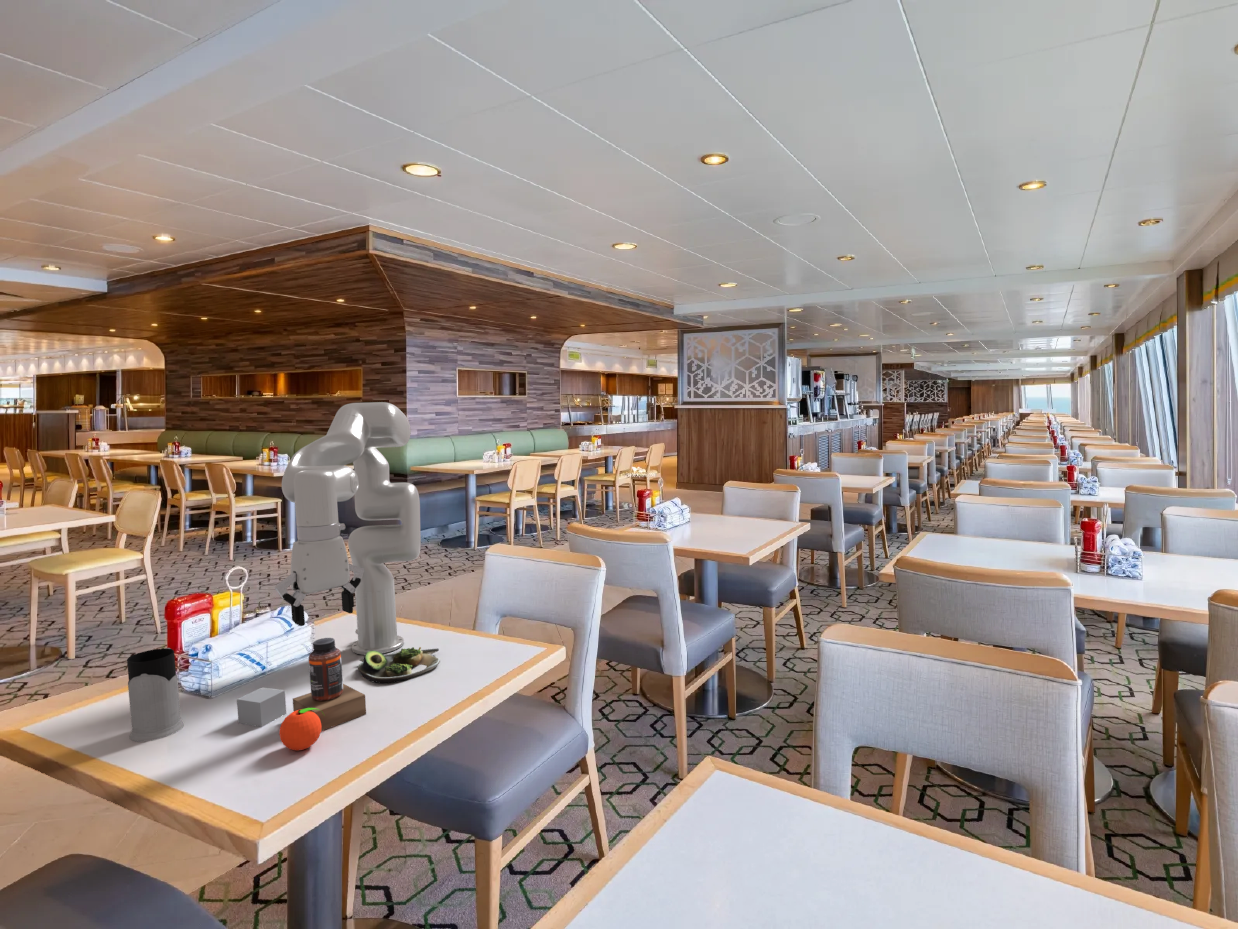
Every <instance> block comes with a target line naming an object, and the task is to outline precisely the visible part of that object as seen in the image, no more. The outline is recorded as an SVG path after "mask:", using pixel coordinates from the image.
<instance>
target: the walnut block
mask: <svg viewBox="0 0 1238 929" xmlns="http://www.w3.org/2000/svg"><path fill="white" fill-rule="evenodd" d="M366 704H367V703H366V694H364V693H362V692H360V691H359V690H357V689H355V688H353V687H350V686H349V685H346V684H345V683H343V693H342V694H341V695H340V696H338V697H336V698H334V699H331V700H324V701H318V700H314V699H313V698H312V695H311V692H309V693H305V694H302V695H300V696H297V697H294V698H292V709H293V711H292V712H294V711H296V710H300V709H305V708H316V709H319V710H316V709H314V710H310V711H313V712H314V713H315V714H317V715H318V717H319V718H320V721H321V725H322V728H321V732H322V731H325V730H328V729H331V728H333V727H335V726H338V725H341V724H343V723H346V722H350V721H352V720H354V719H356V718H357V719H358V718H361V717H363V716H365V715H367V707H366ZM320 710H321V711H320ZM322 712H323V713H324V714H323V713H322ZM324 715H325V716H324Z"/></svg>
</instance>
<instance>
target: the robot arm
mask: <svg viewBox="0 0 1238 929" xmlns="http://www.w3.org/2000/svg"><path fill="white" fill-rule="evenodd" d="M411 432H412V429H411V425H410V421H409V418H408V417H407V415H405V413H403V411H401V409H400V408H399V407H397V406H396V405H395V404H392V403H390V402H386V401H384V402H383V401H381V402H380V401H379V402H378V401H377V402H373V401H372V402H351V403H347V404H344V405H342V406H341V407H340V408H339V409H338V410H337V411H336V413H335V416H334V418H333V419H332V421H331V424H330V426H329V429H328V430H327V433H326V435H324V436H321V437H320V438H317V439H316V440H314V441H312V442H311V443H308V444H306V445H305V446H303V447H301V448H299V450H297V451H296V452H295V453H294V454H293V455H292V456H291V457H290V458H291V459H290V460H289V462H288V464H287V466H286V468H285V469H284V473H283V474H282V479H281V490H282V493H283V495H284V498H285V499H286V500H288V501H289V502H291V503H294V508H295V519H296V520H295V521H296V533H297V535H296V536H297V540H296V541H293V542H292V543H293V544H292V548H291V555H290V556H291V557H290V558H291V559H290V574H289V575H288V576H287V577H285V578H284V579H282V580H281V581H280V582H278V583H277V584H276V585H275V586H274V590H275V591H276V592H277V594H278V595H279V596H280V598H281V599H283V601H285V602H287V603H288V604H289V605H290V608H291V609H290V610H291V620H292V622H293V623H294V624H295V625H298V626H299V627H303V626H305V625H306V620H305V609H304V608H305V607H304V605H302V603H303V601H304V599H305V598H306V597H307V595H310V594H315V593H320V592H325V591H329V590H333V589H337V588H341V589H342V590H343V591H341V594H340V595H341V609H342V611H343V612H345V613H348V614H353V613H354V609H353V608H354V607H355V610H356V624H357V625H356V627H357V629H355V634H356V635H357V641H355V642H353V644H352V645H351V649H352V652H353V653H354V654H357V655H363V656H365V654H366V653H367V652H369V651H378V652H380V653H382V654H386V653H390V652H393V651H396V650H398V649H401V647H402V646H403V645H404V644H405V642H404V641H405V640H404V638H403V637H402V636H401V635H398V630H397V629H398V627H397V613H396V612H397V609H396V592H395V579H394V576H393V573H392V572H391V570H390V569H389V568H388V567H387V566H386V563H402V562H412V561H414V560H416V559H417V558H418V557H419V555H420V552H421V544H422V543H421V542H422V540H421V538H422V537H421V534H422V533H421V502H420V501H421V500H420V495H419V491H418V488H417V486H415V485H414V484H412V483H411V482H391V481H390V464H389V462H388V460H387V459H386V457H385V456H384V455H383V454H382V453H381V451H379V450H378V449H379V448H400V447H404V446H406V445H407V444H408V442H409V441H410V439H411V434H412V433H411ZM377 448H378V449H377ZM351 463H352V464H353V468H354V469H353V468H351V467H350V466H347V465H348V464H351ZM353 497H354V509H355V514H356V515H357V516H356V517H358V518H359V519H361V520H363V521H388V520H389V521H391V520H398V521H400V523H401V524H388V525H387V524H383V525H382V524H380V525H365V526H361V527H358V528H355V529H354V530H352V532H351V533H350V534H349V535H348V536H349V537H348V539H347V540H348V542H347V543H348V544H347V545H348V546H347V547H348V551H349V556H350V560H351V564H350V563H349V557H348V552H347V548H346V544H345V541H344V538H343V536H340V535H341V531H345V529H346V525H345V523H344V522H343V523H340V521H339V512H338V511H339V509H338V502H339V503H340V502H347V501H349V500H350V499H351V498H353ZM350 571H351V572H353V577H352V578H351V575H350ZM290 586H291V590H293V592H292V594H290V593H289V592H288V590H287V588H288V587H290ZM354 594H355V595H354ZM354 596H355V597H354ZM354 598H355V599H354Z"/></svg>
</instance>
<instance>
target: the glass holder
mask: <svg viewBox="0 0 1238 929" xmlns="http://www.w3.org/2000/svg"><path fill="white" fill-rule="evenodd" d="M126 663H127V666H126V667H127V673H128V674H127V675H128V682H127V688H128V689H127V690H128V700H129V710H130V713H129V714H130V723H131V732H130V734H129V739H130V740H131V741H133V742H149V741H151V742H152V741H156V740H159V739H163V738H166V737H169V736H171V735H174V734H176V733H177V732H179V731H180V730H182V729H183V727H185V722H184V721H183V719H182V717H181V706H180V693H179V683H178V682H179V679H178V674H177V671H176V670H177V669H176V656H175V650H174V649H172V648H170V647H164V648H154V649H149V650H144V651H141V652H138V653H135V654H132V655H130V656H129V657H127V659H126Z"/></svg>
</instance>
